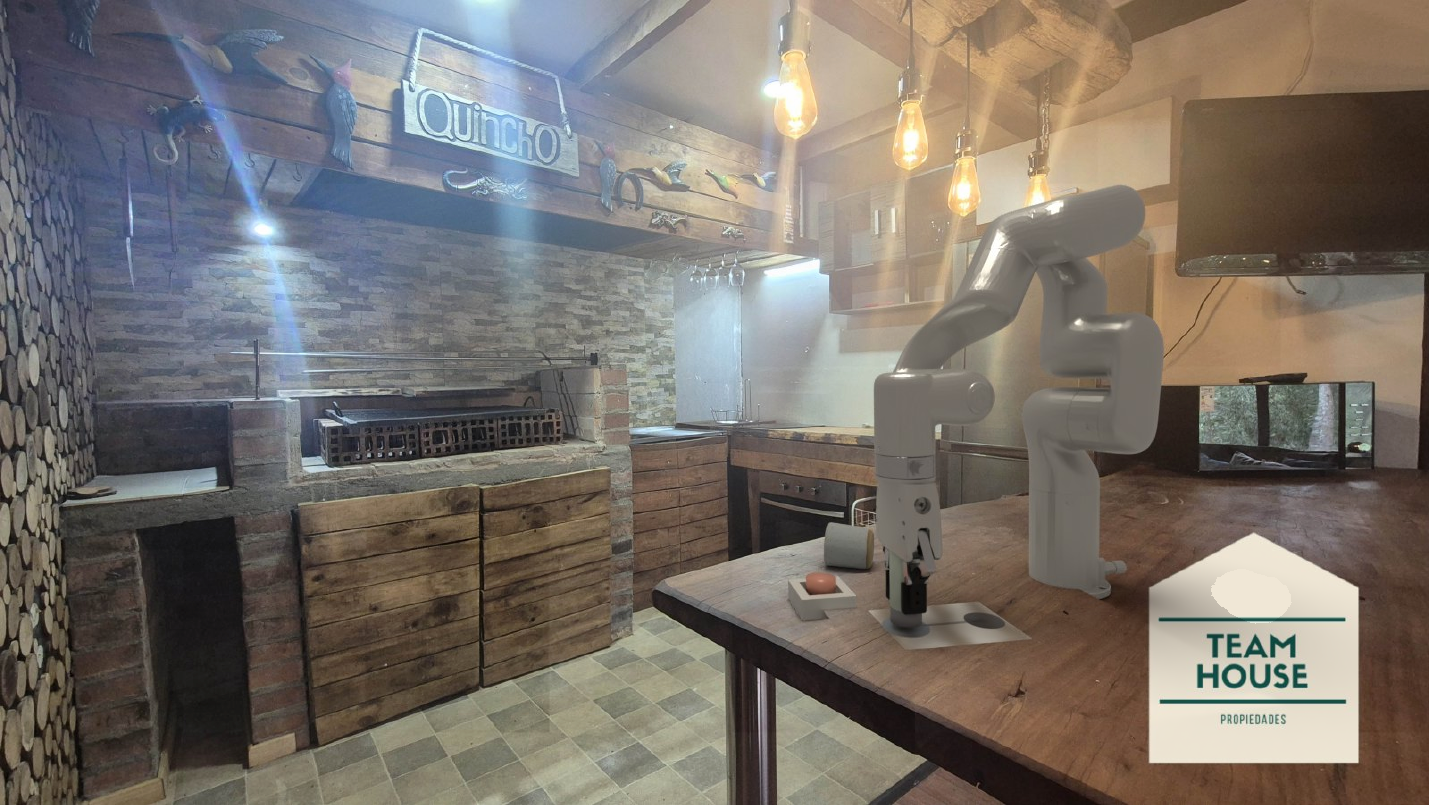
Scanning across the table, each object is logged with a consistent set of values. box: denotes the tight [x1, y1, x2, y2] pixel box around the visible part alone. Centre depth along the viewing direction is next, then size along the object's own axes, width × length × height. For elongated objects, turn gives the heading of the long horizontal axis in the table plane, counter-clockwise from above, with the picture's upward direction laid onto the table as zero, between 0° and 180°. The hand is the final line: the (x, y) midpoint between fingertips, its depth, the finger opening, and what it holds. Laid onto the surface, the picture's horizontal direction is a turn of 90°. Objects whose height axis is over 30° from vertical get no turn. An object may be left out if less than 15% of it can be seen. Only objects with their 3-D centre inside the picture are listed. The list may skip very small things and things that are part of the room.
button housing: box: [787, 575, 858, 622], centre depth 85 cm, size 8×8×3 cm
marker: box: [888, 550, 922, 628], centre depth 74 cm, size 4×4×11 cm
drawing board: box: [868, 601, 1033, 651], centre depth 75 cm, size 18×13×1 cm
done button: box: [805, 571, 836, 595], centre depth 84 cm, size 4×4×2 cm
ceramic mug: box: [823, 521, 875, 570], centre depth 103 cm, size 11×8×8 cm
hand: (905, 604), depth 74 cm, fingers closed on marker, 3 cm apart
